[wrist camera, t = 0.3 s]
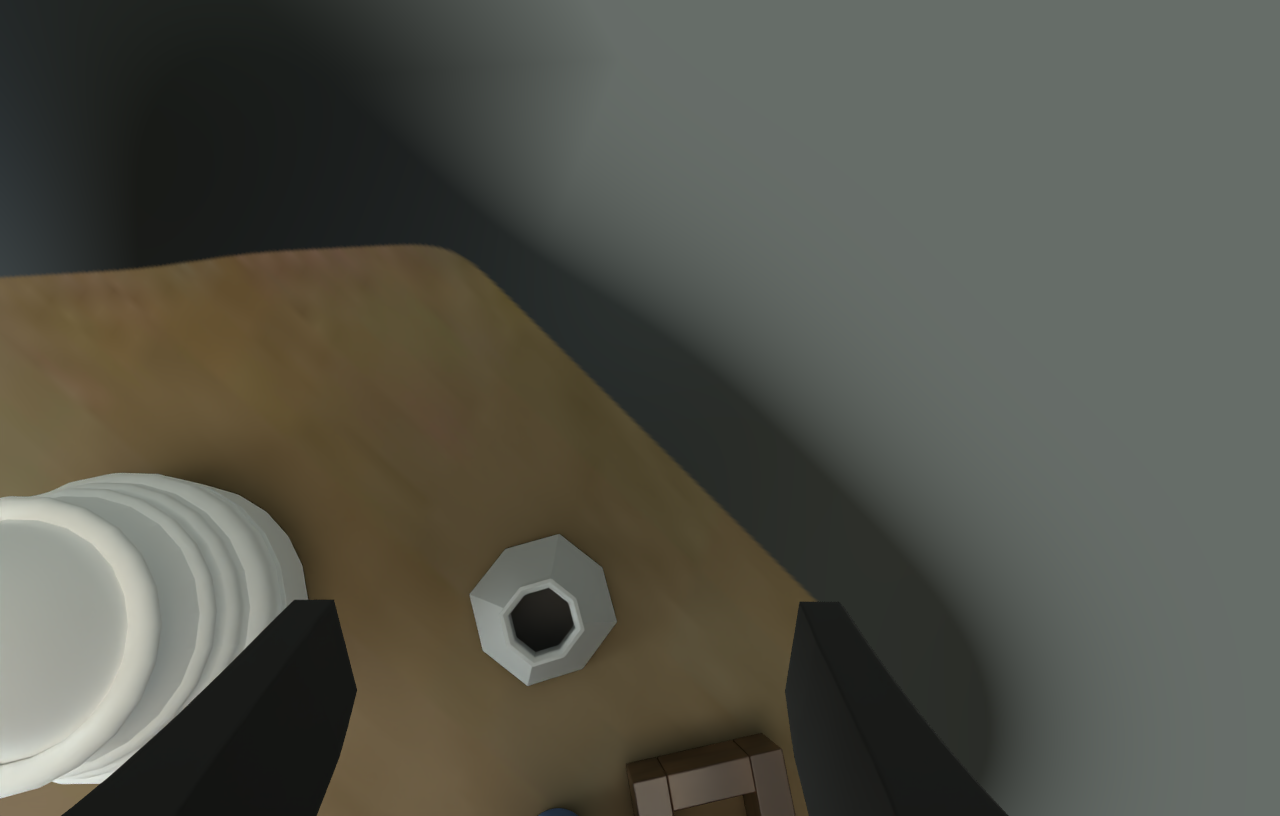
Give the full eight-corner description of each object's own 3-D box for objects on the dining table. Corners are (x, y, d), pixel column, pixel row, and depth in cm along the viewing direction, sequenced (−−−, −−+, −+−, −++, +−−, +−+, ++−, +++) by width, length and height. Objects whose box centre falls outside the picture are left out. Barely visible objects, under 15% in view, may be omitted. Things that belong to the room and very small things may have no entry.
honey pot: (20, 775, 35) (-500, 982, 18) (31, 497, 38) (-419, 437, 20) (312, 734, 37) (99, 886, 19) (304, 471, 39) (108, 396, 22)
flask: (640, 626, 40) (669, 645, 30) (522, 711, 38) (513, 761, 29) (564, 510, 41) (568, 492, 31) (445, 589, 39) (410, 597, 29)
